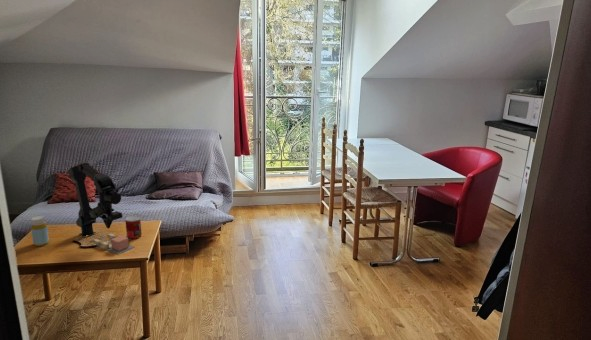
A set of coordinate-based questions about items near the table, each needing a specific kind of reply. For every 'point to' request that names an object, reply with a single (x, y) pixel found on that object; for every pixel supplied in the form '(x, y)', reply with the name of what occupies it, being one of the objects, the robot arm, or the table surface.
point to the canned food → (133, 227)
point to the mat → (120, 250)
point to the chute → (107, 244)
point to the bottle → (39, 231)
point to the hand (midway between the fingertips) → (108, 228)
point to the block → (120, 243)
